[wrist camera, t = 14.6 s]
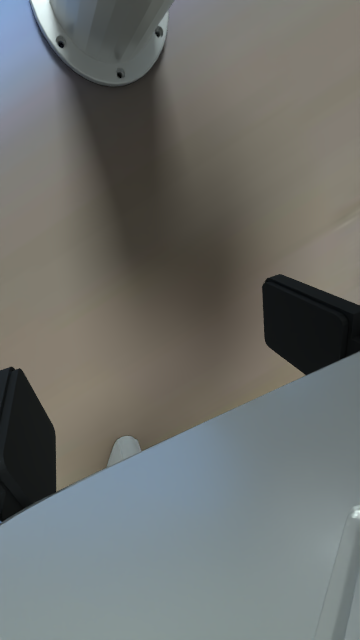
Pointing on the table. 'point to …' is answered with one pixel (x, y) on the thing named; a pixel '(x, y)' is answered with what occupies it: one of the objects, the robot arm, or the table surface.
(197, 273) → the table surface
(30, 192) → the table surface
